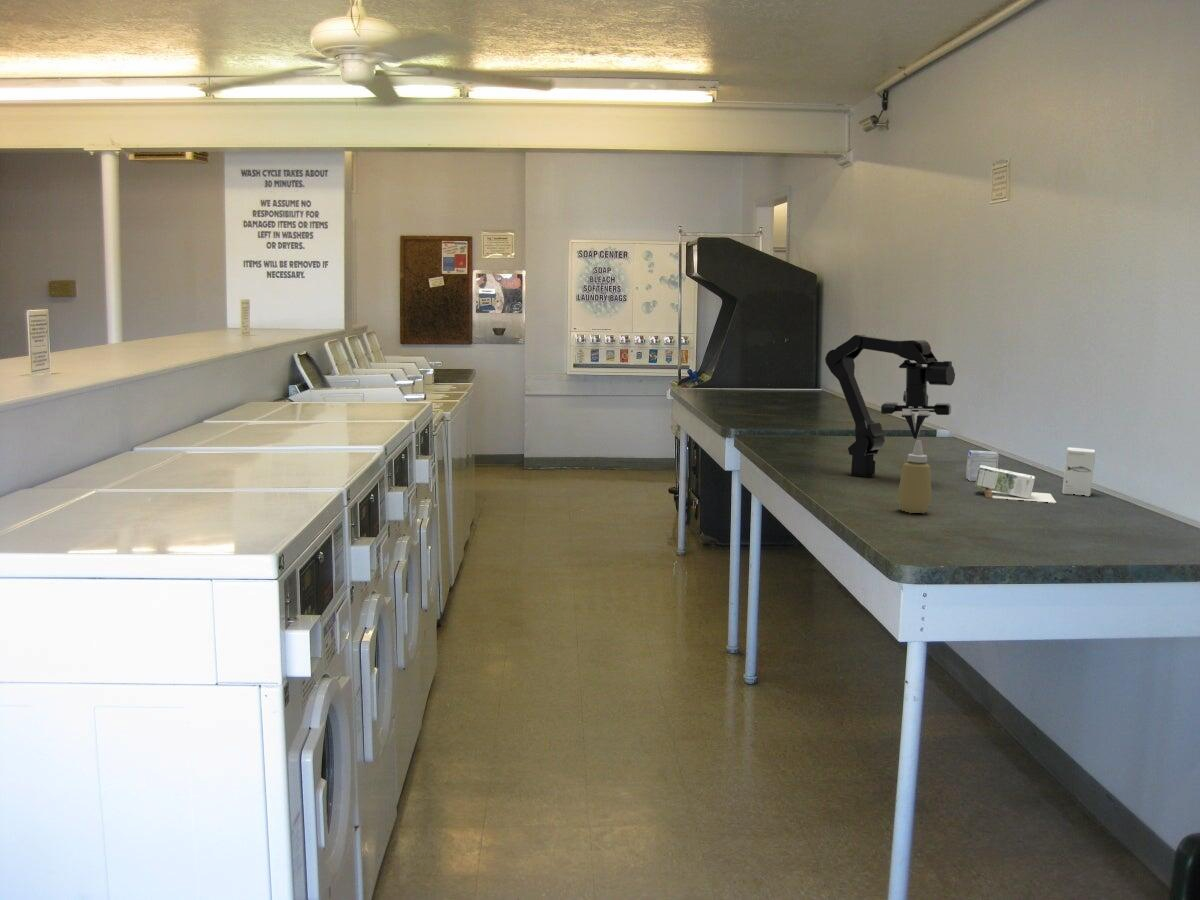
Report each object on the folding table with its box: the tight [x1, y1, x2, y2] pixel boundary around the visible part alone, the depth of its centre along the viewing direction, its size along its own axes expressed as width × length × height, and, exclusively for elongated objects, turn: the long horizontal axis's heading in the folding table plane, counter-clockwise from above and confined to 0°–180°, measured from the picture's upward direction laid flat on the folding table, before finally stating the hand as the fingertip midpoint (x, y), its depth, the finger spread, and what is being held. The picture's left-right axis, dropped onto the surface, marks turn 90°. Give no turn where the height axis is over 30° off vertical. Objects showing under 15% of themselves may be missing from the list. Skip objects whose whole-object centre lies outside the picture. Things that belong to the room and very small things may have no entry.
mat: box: [992, 491, 1057, 504], centre depth 297 cm, size 16×14×1 cm
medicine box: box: [965, 449, 1000, 482], centre depth 320 cm, size 8×4×9 cm, turn 84°
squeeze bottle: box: [897, 439, 932, 514], centre depth 268 cm, size 8×8×18 cm
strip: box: [982, 488, 993, 499], centre depth 299 cm, size 2×12×2 cm, turn 164°
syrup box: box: [974, 465, 1036, 498], centre depth 296 cm, size 6×6×14 cm
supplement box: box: [1061, 446, 1096, 497], centre depth 304 cm, size 7×7×13 cm
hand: (915, 438), depth 311 cm, fingers closed
